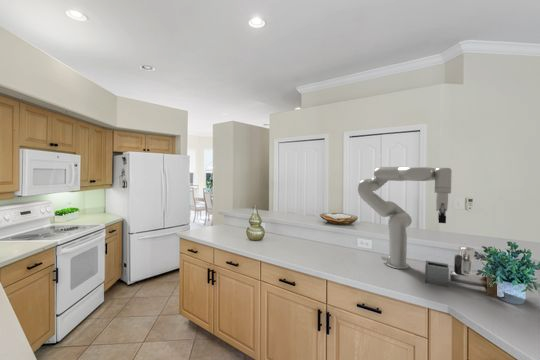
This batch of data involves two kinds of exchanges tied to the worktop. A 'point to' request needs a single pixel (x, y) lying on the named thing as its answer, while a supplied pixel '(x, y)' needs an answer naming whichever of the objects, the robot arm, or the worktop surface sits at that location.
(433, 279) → the sleeve
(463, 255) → the beer glass
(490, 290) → the socket
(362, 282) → the worktop surface
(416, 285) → the worktop surface
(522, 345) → the worktop surface
